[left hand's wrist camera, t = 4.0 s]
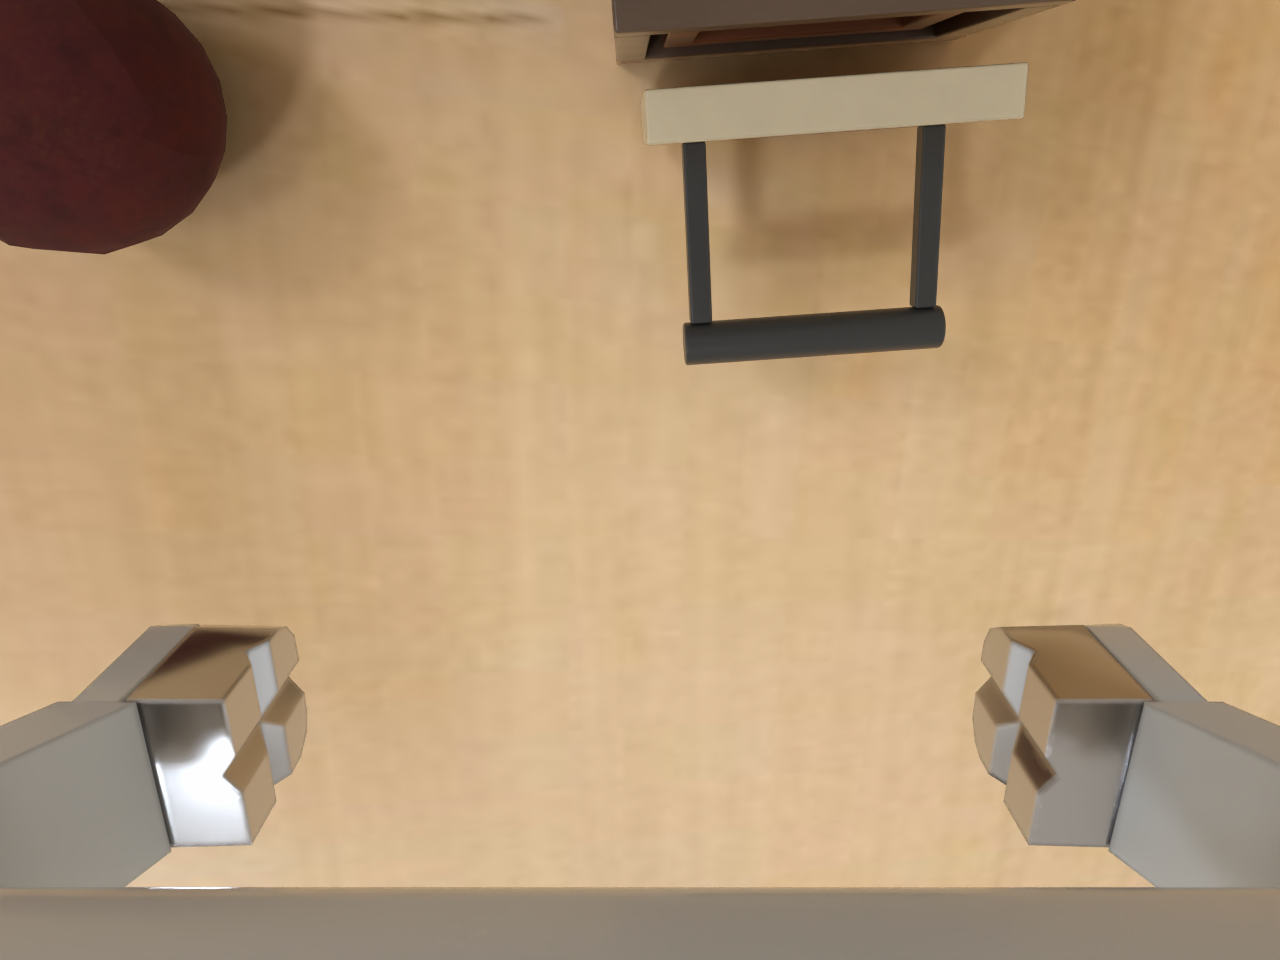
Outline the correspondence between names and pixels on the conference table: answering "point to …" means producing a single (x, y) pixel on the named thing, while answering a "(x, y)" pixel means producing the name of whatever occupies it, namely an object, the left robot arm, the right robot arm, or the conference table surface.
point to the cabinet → (707, 3)
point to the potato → (102, 123)
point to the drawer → (814, 111)
